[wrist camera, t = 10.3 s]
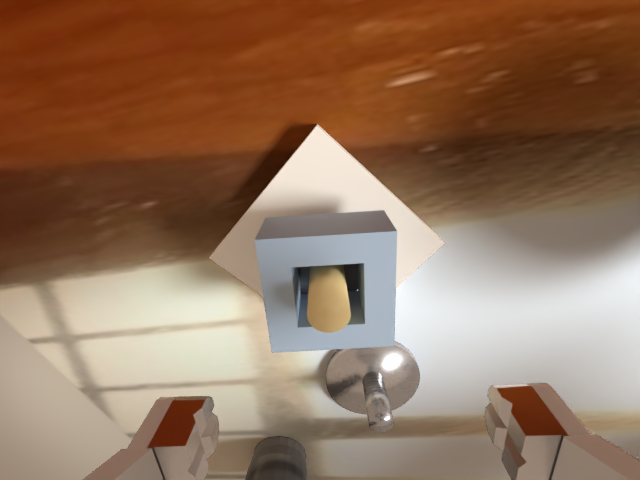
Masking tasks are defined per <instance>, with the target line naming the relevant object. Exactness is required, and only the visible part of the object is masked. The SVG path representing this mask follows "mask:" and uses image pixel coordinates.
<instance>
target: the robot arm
mask: <svg viewBox="0 0 640 480" xmlns="http://www.w3.org/2000/svg"><path fill="white" fill-rule="evenodd" d="M488 397H489V399H490V401H491V403H490V404H489V405H488V406H487V407H486V410H485V421H486V427H487V430H488V433H489V436H490V438H491V440H492V442H493V444H494V445H495V446H497V447H498V448H499V449H501V450H502V451H503V455H502V462H503V464H504V466H505V468H506V470H507V472H508V474H509V476H510V478H511V480H640V461H639V460H638V459H636V458H634V457H633V456H631V455H629V454H628V453H626V452H624V451H623V450H621V449H619V448H618V447H616V446H615V445H613V444H611V443H610V442H608V441H606V440H605V439H603V438H601V437H600V436H598V435H591V434H590V433H589V432H588V430H587V429H586V428H585V427H584V426H583V424H582V423H581V422H580V421H579V419H578V418H577V417H576V416H575V415H574V413H573V412H572V411H571V410H570V409H569V407H568V406H567V405H566V404H565V403H564V401H563V400H562V399H561V398H560V396H559V395H558V394H557V393H556V392H555V390H554V389H553V388H552V387H551V386H550V385H548V384H547V383H535V384H512V385H491V386H490V388H489V390H488ZM213 407H214V403H213V400H212V397H209V396H189V397H160V398H159V399H158V400H157V401H156V402H155V403H154V405H153V407H152V408H151V410H150V411H149V413H148V415H147V416H146V418H145V420H144V421H143V423H142V425H141V426H140V428H139V430H138V431H137V433H136V435H135V436H134V438H133V440H132V441H131V443H130V445H129V447H128V448H127V449H122V450H120V451H119V452H118V453H116V454H115V455H114V456H112V457H111V458H110V459H109V460H107V461H106V462H105V463H103V464H102V465H101V466H100V467H99V468H97V469H96V470H95V471H93V472H92V473H91V474H89V475H88V476H87V477H86V478H84V479H83V480H205V478H206V475H207V472H208V469H209V466H208V463H207V459H208V458H209V457H210V456H211V455H212V454H213V453H214V451H215V448H216V445H217V441H218V434H219V422H218V418H217V416H216V415H215V414H214V413H212V410H213Z"/></svg>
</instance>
